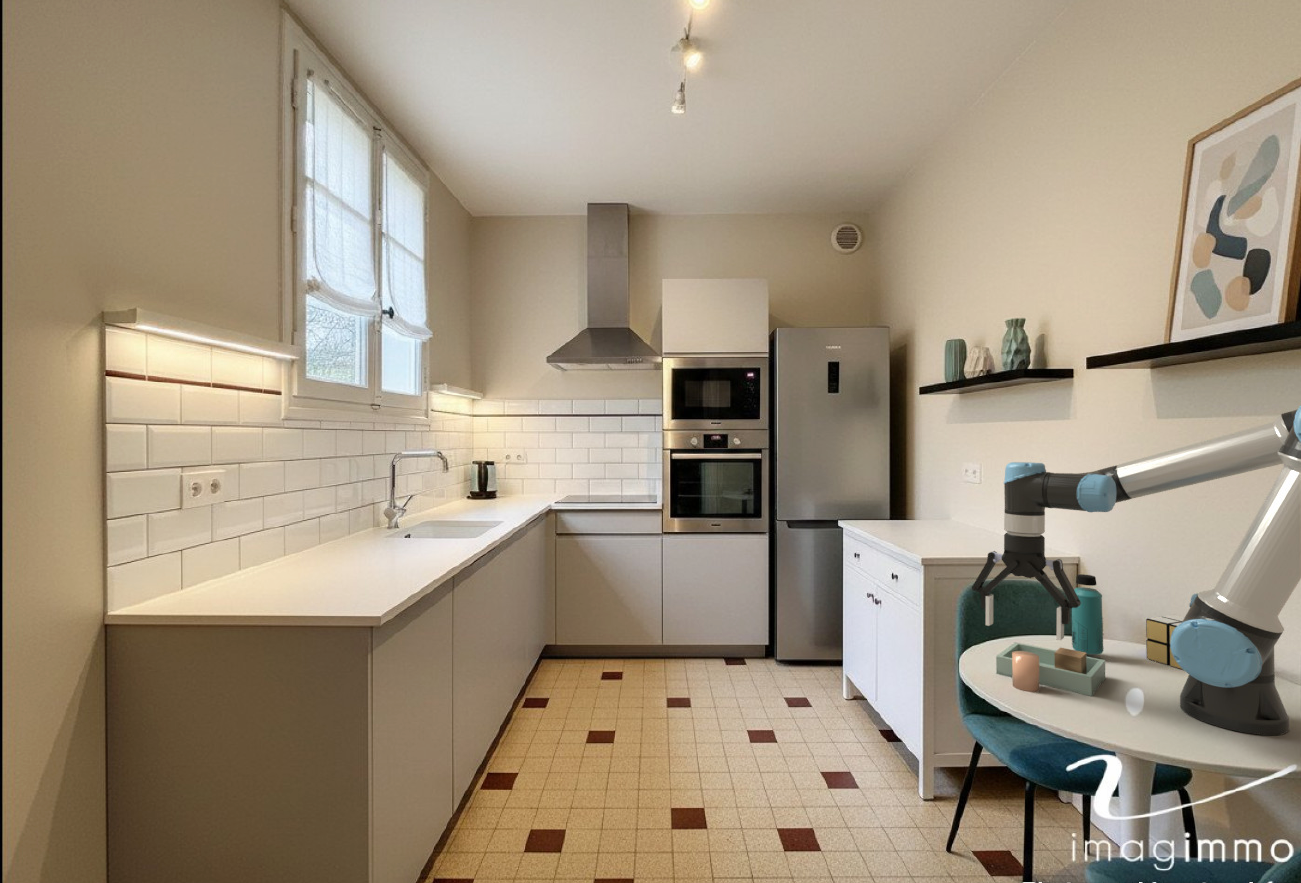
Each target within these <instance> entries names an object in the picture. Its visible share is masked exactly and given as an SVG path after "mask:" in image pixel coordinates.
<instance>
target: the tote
mask: <svg viewBox="0 0 1301 883" xmlns="http://www.w3.org/2000/svg"><path fill="white" fill-rule="evenodd" d="M1057 650H1058V649H1057ZM1057 650H1056V649H1051V648H1046V647H1041V646H1036V645H1031V644H1028V643H1027V644H1026V643H1021V642H1013V643H1012V644H1010V645H1009V646H1008V647H1007V648H1005V649H1004V650H1003V651H1001V652H999V654H997V655H996V656H995V658H996V660H995V661H996V663H995V664H996V669H995V671H996V674H997V675H1000V676H1005V677H1008V678H1009V677H1010V678H1012V652H1014V651H1026V652H1031V653H1034V654H1037V655H1038V656H1039V682H1040V685H1042V686H1047V687H1050V688H1055V689H1059V690H1063V691H1067V692H1070V693H1075V694H1080V695H1084V696H1088V697H1092V696H1093V695H1094V694H1095V692H1097V690H1098V688H1099V687H1100V686H1101V685H1102V683H1103V682H1104V681H1105V679H1106V660H1105V659H1101V658H1095V657H1091V656H1087V675H1086V674H1082V673H1077V672H1073V671H1068V670H1063V669H1059V668H1055V652H1056V651H1057Z"/></svg>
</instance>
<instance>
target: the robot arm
mask: <svg viewBox="0 0 1301 883" xmlns="http://www.w3.org/2000/svg"><path fill="white" fill-rule="evenodd" d="M1278 465H1283V468H1282V469H1281V471H1280V473H1279V474H1278V476H1277V478H1276V480H1275V481H1274V484H1273V485H1272V486H1271V489H1270V490H1269V492H1268V494H1266V495H1267V496H1266V497H1265V499H1264V501H1263V503H1262V504H1261V505H1260V507H1259V510H1258V511H1257V513H1256V514H1255V516H1254V519H1253V520H1252V522H1251V523H1250V525H1249V527H1248V528H1247V530H1246V533H1245V534H1244V536H1243V538H1242V539H1241V541H1240V543H1239V545H1238V546H1237V549H1236V550H1235V552H1234V553H1233V555H1232V557H1231V559H1230V560H1229V562H1228V564H1227V565H1226V567H1225V569H1224V570H1223V572H1222V574H1221V576H1220V578H1219V580H1218V581H1217V583H1216V585H1215V587H1214V588H1212V589H1209V590H1204V591H1200V592H1199V591H1198V592H1196V593H1194V594H1192V595H1191V597H1190V603H1189V604H1188V606H1189V609H1188V611H1187V612H1186V614H1185V616H1184V617H1185V618H1184V620H1183V621H1182V623H1181V624H1179V625H1178V626H1177V627H1176V628H1175V629H1174V630H1173V632H1172V635H1171V641H1170V647H1171V652H1172V654H1173V657H1174V659H1175V660H1176V662H1177V663H1178V664H1179V666H1180V667H1181V668H1182V669H1183V670H1182V671H1184V672H1185V673H1187V674H1188V676H1187V678H1186V682H1185V683H1184V685H1183V688H1182V690H1181V692H1180V696H1179V704H1180V705H1179V706H1180V708H1181V710H1182V711H1183V712H1184V713H1186V714H1187V715H1189V716H1190V717H1192V718H1195V719H1197V720H1199V721H1201V722H1204V723H1206V724H1209V725H1213V726H1215V727H1220V728H1222V729H1223V728H1224V729H1226V730H1230V731H1235V732H1240V733H1246V734H1253V735H1260V736H1261V735H1262V736H1279V735H1280V736H1281V735H1283V734H1286V733H1288V732H1289V730H1290V726H1289V725H1290V724H1289V722H1290V721H1289V719H1290V718H1289V715H1288V713H1287V710H1286V708H1285V705H1284V703H1283V701H1282V699H1281V697H1280V694H1279V692H1278V690H1277V687H1276V683H1275V678H1276V677H1275V675H1276V674H1275V670H1276V669H1275V646H1276V644H1277V642H1278V641H1279V639H1281V638H1280V637H1281V636H1282V634H1283V633H1284V631H1285V627H1284V626H1283V624H1282V622H1281V620H1280V618H1279V615H1280V613H1281V611H1283V608H1285V607H1284V606H1285V605H1286V604H1287V602H1288V600H1289V599H1290V597H1291V595H1292V594H1293V592H1294V590H1295V589H1296V587H1297V586H1298V584H1299V583H1300V581H1301V405H1300V406H1299V407H1298V408H1297V409H1295V410H1291V411H1287V412H1284V413H1280V414H1278V416H1277V417H1276V418H1275V419H1274V421H1272V422H1268V423H1264V424H1262V425H1258V426H1255V427H1250V428H1247V429H1244V430H1240V431H1236V432H1233V433H1228V434H1226V435H1222V436H1218V437H1214V438H1211V439H1207V440H1203V441H1200V442H1196V443H1193V444H1189V445H1186V446H1181V447H1178V448H1174V449H1170V450H1168V451H1163V452H1160V453H1156V454H1153V455H1150V456H1149V455H1148V456H1144V457H1141V458H1137V459H1134V460H1131V461H1127V462H1122V463H1121V464H1120V463H1119V464H1117V465H1112V466H1109V467H1105V468H1101V469H1097V470H1094V471H1093V470H1092V471H1089V472H1079V473H1072V472H1071V473H1070V472H1069V473H1068V472H1067V473H1066V472H1063V473H1062V472H1050V471H1047V469H1046V465H1045V464H1044V463H1042V462H1031V461H1030V462H1028V461H1013V462H1009V463H1007V464H1006V466H1005V469H1004V470H1005V471H1004V481H1003V485H1004V486H1003V489H1004V510H1003V511H1004V515H1003V517H1004V518H1003V520H1004V521H1003V522H1004V523H1003V524H1004V525H1003V527H1004V531H1005V534H1004V535H1003V536H1004V537H1003V554H1002V553H998V552H997V551H995V550H993V551H990V552H988V553H987V556H986V557H987V559H986V562H985V565H984V566H983V568H982V569H981V571H980V573H979V575H978V576H977V578H976V580H975V581H974V582H973V585H972V586H971V589H972V591H974V592H976V593H979V594H980V608H981V609H982V610H985V623H984V624H985V626H988V627H989V626H992V625H993V624H994V594H992V593H991V592H992V591H993V590H994V589H995V588H996V587H997V586H999V585H1000V584H1001V582H1003V581H1004V580H1005V579H1006V578H1007V577H1009V576H1010V575H1011V574H1012V575H1014V576H1015V577H1024V578H1027V579H1033V578H1035V579H1036V580H1037V581H1038V582H1039V583H1040V585H1042V586H1043V587H1044V589H1045V590H1046V591H1047V592H1048V594H1050V596H1051V597H1052V598H1053V599H1054V601H1055V602H1056V603H1057V605H1059V606H1057V608H1056V640H1057V641H1062V640H1063V639H1064V638H1065V625H1066V626H1067V625H1069V623H1071V608H1077V607H1078V606H1080V605H1081V602H1080V600H1079V598H1078V596H1077V594H1076V593H1075V591H1074V589H1075V588H1074V587H1073V585H1072V583H1071V582H1070V580H1069V577H1068V575H1067V574H1066V572H1065V570H1064V564H1063V561H1062V559H1060V558H1057V559H1046V556H1045V555H1046V554H1045V552H1046V549H1045V548H1046V547H1045V546H1046V545H1045V542H1046V541H1045V540H1046V539H1045V536H1044V535H1043V534H1045V533H1046V530H1045V525H1046V511H1045V509H1046V508H1047V509H1061V510H1071V511H1080V512H1088V513H1109V512H1111V511H1112V510H1113V509H1114V507H1115V505H1116V503H1121V502H1125V501H1129V500H1132V499H1137V498H1140V497H1145V496H1146V497H1147V496H1149V495H1153V494H1154V495H1155V494H1157V493H1158V494H1159V493H1161V492H1162V493H1163V492H1167V491H1171V490H1176V489H1180V488H1184V487H1187V486H1188V487H1189V486H1193V485H1197V484H1201V483H1206V482H1209V481H1214V480H1218V479H1219V480H1220V479H1224V478H1227V477H1232V476H1236V475H1240V474H1243V473H1247V472H1248V473H1249V472H1253V471H1257V470H1261V469H1265V468H1270V467H1274V466H1275V467H1276V466H1278ZM1000 561H1002V562H1003V564H1004V565H1005V566H1006V567H1004V568H1003V569H1002V570H1001V572H1000V573H998V574H997V575H996V576H995V577H993V579H992V580H991V581H990V582H989V583H987V584H986V585H985V586H984V584H985V582H986V581H987V579H988V577H989V575H990V574H991V572H992V570H993V569H994V567H995V565H996V563H999V562H1000ZM1047 566H1048V567H1049V569H1050V570H1051V571H1053V574H1054V575H1055V577H1056V579H1057V582H1058V583H1059V586H1060V587H1061V588H1062V590H1063V592H1064V594H1065V595H1064V594H1063V593H1062V592H1061V590H1060V589H1059V588H1058V587H1057V586H1056V585H1055V584H1054V583H1053V581H1052V580H1051V578H1049V576H1048V574H1047V573H1046V572H1045V570H1044V569H1045V568H1046V567H1047ZM1065 596H1066V597H1065Z"/></svg>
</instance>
